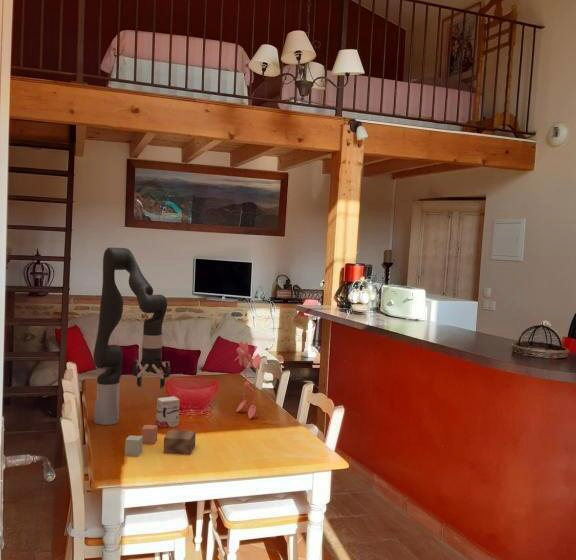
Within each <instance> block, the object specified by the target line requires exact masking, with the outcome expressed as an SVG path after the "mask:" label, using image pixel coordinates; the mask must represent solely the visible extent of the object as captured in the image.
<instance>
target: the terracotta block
mask: <svg viewBox="0 0 576 560" xmlns="http://www.w3.org/2000/svg"><path fill="white" fill-rule="evenodd" d="M158 428H159V427H158V425H156V424H155V425H154V424H144V425H143V426H142V427H141V429H140V431H141V433H140V436H143V445H155V444H156V442H157V441H158Z"/></svg>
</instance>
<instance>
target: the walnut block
mask: <svg viewBox="0 0 576 560" xmlns="http://www.w3.org/2000/svg"><path fill="white" fill-rule="evenodd" d="M196 433H197V432H196V430H181V429H169V431H167V433H166V434H165V436H164V437H163V454H172V455H191V454H192V452H193V450H194V449H195V447H196Z"/></svg>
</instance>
